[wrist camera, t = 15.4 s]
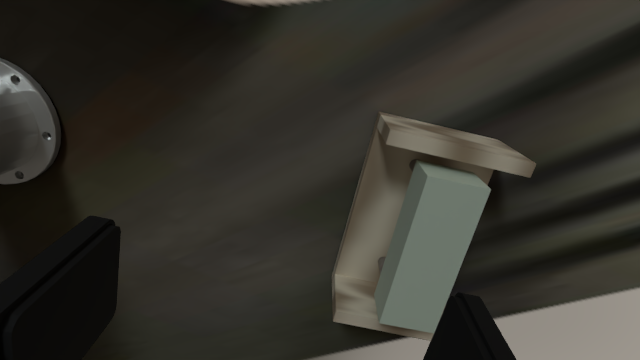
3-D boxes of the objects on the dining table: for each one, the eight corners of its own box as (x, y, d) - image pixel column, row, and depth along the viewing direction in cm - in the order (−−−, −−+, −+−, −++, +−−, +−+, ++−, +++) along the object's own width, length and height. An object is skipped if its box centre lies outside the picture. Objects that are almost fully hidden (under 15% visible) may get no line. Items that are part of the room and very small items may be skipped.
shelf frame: (332, 275, 44) (332, 321, 37) (378, 111, 37) (390, 129, 30) (434, 296, 45) (454, 345, 38) (497, 139, 38) (536, 163, 31)
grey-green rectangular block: (416, 160, 33) (427, 176, 30) (472, 172, 34) (491, 189, 30) (374, 294, 38) (379, 323, 34) (423, 304, 38) (434, 333, 35)
